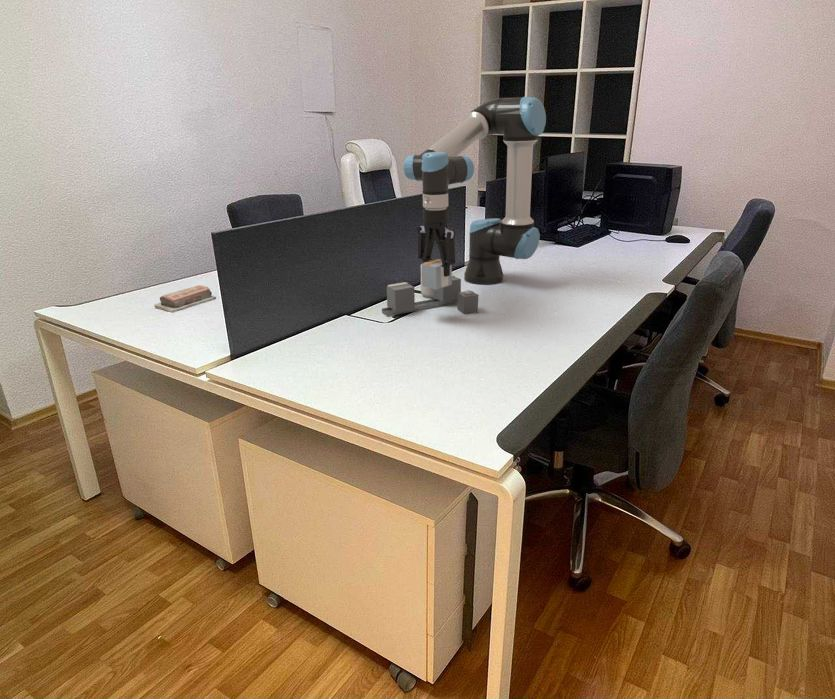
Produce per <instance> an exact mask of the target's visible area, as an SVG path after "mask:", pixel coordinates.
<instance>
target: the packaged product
mask: <svg viewBox="0 0 835 699" xmlns="http://www.w3.org/2000/svg"><path fill="white" fill-rule="evenodd" d="M159 300H160V302H159V303H154V304H153V306H154V309H158V310H160V311H164V312H168V313H176V312H178V311H181V310H185V309H188V308H192V307H195V306H197V305H201V304H204V303H206V302H209V301H213V300H217V297H216V296H214V295H212V291H211V289H210V288H209V287H208V286H204V285H195V286H193V287H188V288H184V289H181V290H178V291H174V292H170V293H167V294H163V295H161V296H159Z"/></svg>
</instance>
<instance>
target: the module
mask: <svg viewBox="0 0 835 699" xmlns="http://www.w3.org/2000/svg"><path fill="white" fill-rule="evenodd" d="M429 261H430V262H427V263H423V264H422V263H421V264H422V286H424V287H428V288H431V289H435V290H437V289H440V288H443V287H441V269H440V266H441V265H442V260H441V258H440V259H439V258H437V259H432V260H429ZM452 266H453V264H452V265H450V275H449V276H448V286H449V285H452V275H453V273H452V272H453V270H452V269H453V268H452ZM445 287H446V286H445Z"/></svg>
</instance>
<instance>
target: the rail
mask: <svg viewBox="0 0 835 699" xmlns="http://www.w3.org/2000/svg"><path fill="white" fill-rule="evenodd" d="M454 304H458V300H452V301H447V302H442V301H440V300H438V299H436V298H429V299H426V300H425V299H424V300H420V301H415V308H410V309H405V310H400V311H394V310H393V309H391V308H389V307H388V306H386V307H382V308H381V313H382V314H383V315H384V316H386V317H392V316H397V315H402V314H403V315H404V314H407V313H413V312H417V311H423V310H427V309H434V308H438V307H443V306H448V305H454Z"/></svg>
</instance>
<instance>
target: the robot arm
mask: <svg viewBox="0 0 835 699" xmlns="http://www.w3.org/2000/svg"><path fill="white" fill-rule="evenodd" d="M546 122H547V114H546V109H545V107H544V104H543V102H542V101H541V100H540V99H538V98H537V97H529V96H523V97H521V96H519V97H516V96H515V97H498V98H497V97H495V98H493V99H490V100H488V101H485V102H483V103H482V104H480V105H478V106H477V107H476V108H474V109H472V110H471V111H470V112H469V113H467V114H466V115H465V117H464V121H462V122H461V123H459V124H457V125H456V127H454V128H453V129H452V130H450V131H449V132H448V133H446V134H444V136H441V138H440V139H439V140H437V141H436V142H434V144H432V145H430V147H428V148H427V149H426V150H424V151H423V152H422V153H420V154H411V155H408V156H406V158H405V160H404V162H403V166H402V167H403V168H402V169H403V174H404V175H405V177H406V178H407V179H409V180H413V181H417V182H420V181H421V182H422V207H423V209H422V221H423V222H424V224H423V225H421V226H417V229H416V230H417V235H418V239H417V240H418V242H417V245H418V246H417V257H418V259H420V260H422V262H423V263H427V262H430V261H432V253H433V249H434V244H435V243H436V245H437V247H438V251H439V255H440V260H442V265H441V266H440V269H441V287H445V286H448V276H449V275H450V265H452V266H453V265H454V264H456V248H455V236H456V231H455V230H450V229H449V227H448V221H449V209H448V207H449V186H450V185H454V184H463V183H465V182H467V181H468V182H469V180H470V179H472V178H473V176H474V173H475V165H474V162H473V160H472V159H471V158H470V157H469V156H465V155H460V154H461V153H463V152H464V151H465V150H467V149H468V148H469V147H470V146H471V145H472V144H474V143H475V142H476V141H481V140H483V139H485V138H486V137H488V136H493V135H495V136H496V135H502V137H503V139H502V141H503V142H504V144H505V145H506V146H507V148H506V149H507V150H506V152H507V153H506V154H507V155H506V184H505V185H506V191H505V193H506V194H505V217H504V218H503V219H502V218H483V219H478V220H474V221H472V222H471V223H470V226H469V233H468V234H469V246H468V247H469V250H468V251H469V254H468V256H469V257H468V258H469V259H468V262H467V265H466V268H465V271H464V276H463V279H464V281H465V282H468V283H471V284H476V285H494V284H498V283H501V282H503V280H504V273H503V269H502V265H501V261H500V256H501V257H506V258H513V259H516V260H528V259H530V258H531V257H532V256H533V255H534V254H535V252H536V251H537V249H538V247H539V242H540V238H541V237H540V236H541V234H540V231H539V228H537V227H535V225H534V224H535V221H534V219H533V218H532V217H531V198H532V196H531V195H532V174H533V157H534V156H533V155H534V152H533V151H534V145H535V144H536V143H537V142H538V140H539V136H540V135H542V134H543V133H544V131H545V127H546V124H547V123H546Z"/></svg>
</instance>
